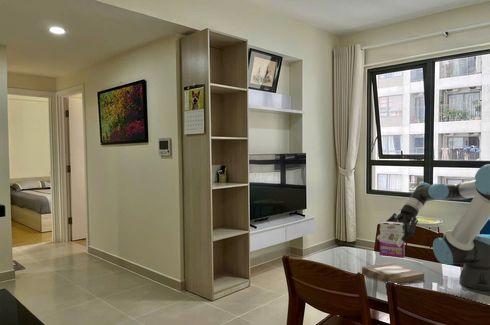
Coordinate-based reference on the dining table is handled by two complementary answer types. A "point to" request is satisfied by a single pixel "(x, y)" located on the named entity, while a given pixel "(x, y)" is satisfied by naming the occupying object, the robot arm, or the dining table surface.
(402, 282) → the walnut plinth
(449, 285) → the dining table surface
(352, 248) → the dining table surface
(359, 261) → the dining table surface
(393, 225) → the candy bar box
